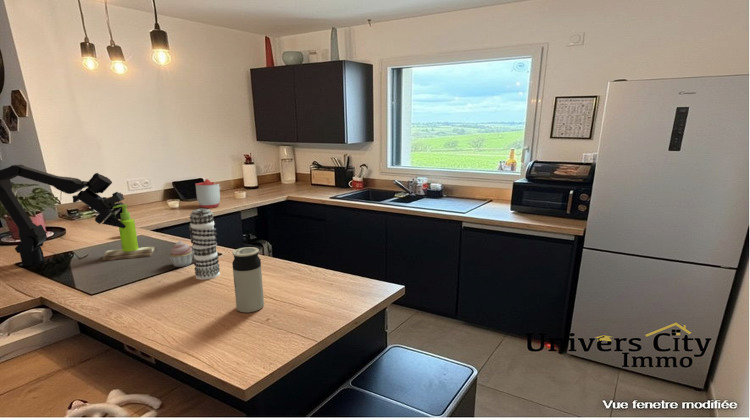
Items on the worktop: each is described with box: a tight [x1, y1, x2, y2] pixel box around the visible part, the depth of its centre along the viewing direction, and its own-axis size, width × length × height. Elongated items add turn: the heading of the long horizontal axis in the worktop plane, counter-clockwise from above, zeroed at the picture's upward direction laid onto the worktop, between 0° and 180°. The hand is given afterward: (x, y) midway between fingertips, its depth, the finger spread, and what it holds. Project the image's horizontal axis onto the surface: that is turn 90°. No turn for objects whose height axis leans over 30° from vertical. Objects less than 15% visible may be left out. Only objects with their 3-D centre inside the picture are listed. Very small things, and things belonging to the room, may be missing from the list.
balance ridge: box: [101, 246, 157, 262], centre depth 165 cm, size 18×10×2 cm, turn 107°
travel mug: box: [231, 246, 265, 314], centre depth 113 cm, size 8×8×18 cm
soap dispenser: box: [113, 204, 139, 252], centre depth 162 cm, size 6×7×20 cm
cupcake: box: [168, 240, 194, 268], centre depth 151 cm, size 9×9×10 cm
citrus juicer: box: [194, 178, 222, 209], centre depth 266 cm, size 16×17×20 cm
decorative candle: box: [188, 208, 221, 281], centre depth 138 cm, size 9×9×25 cm
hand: (128, 224), depth 163 cm, fingers open, 9 cm apart
